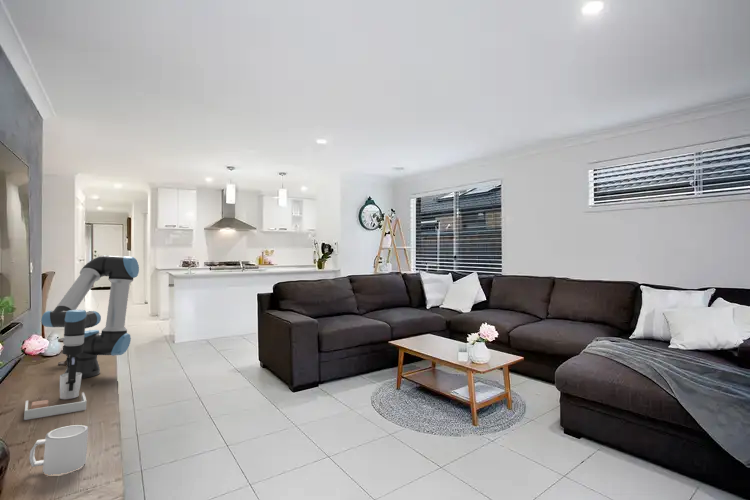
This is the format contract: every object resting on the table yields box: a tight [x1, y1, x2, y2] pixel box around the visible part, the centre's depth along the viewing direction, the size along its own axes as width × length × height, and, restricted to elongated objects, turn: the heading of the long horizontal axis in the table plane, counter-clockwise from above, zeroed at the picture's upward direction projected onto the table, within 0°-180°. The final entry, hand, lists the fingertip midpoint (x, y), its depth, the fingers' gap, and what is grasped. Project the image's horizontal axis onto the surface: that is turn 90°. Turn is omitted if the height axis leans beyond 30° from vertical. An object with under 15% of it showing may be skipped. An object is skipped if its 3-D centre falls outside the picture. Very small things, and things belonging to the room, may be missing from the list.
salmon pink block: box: [30, 399, 49, 409], centre depth 157 cm, size 5×5×4 cm
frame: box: [23, 392, 88, 421], centre depth 160 cm, size 13×19×4 cm
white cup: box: [59, 372, 82, 400], centre depth 175 cm, size 8×8×10 cm
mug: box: [28, 424, 89, 475], centre depth 117 cm, size 14×10×11 cm
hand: (69, 394), depth 175 cm, fingers open, 9 cm apart
